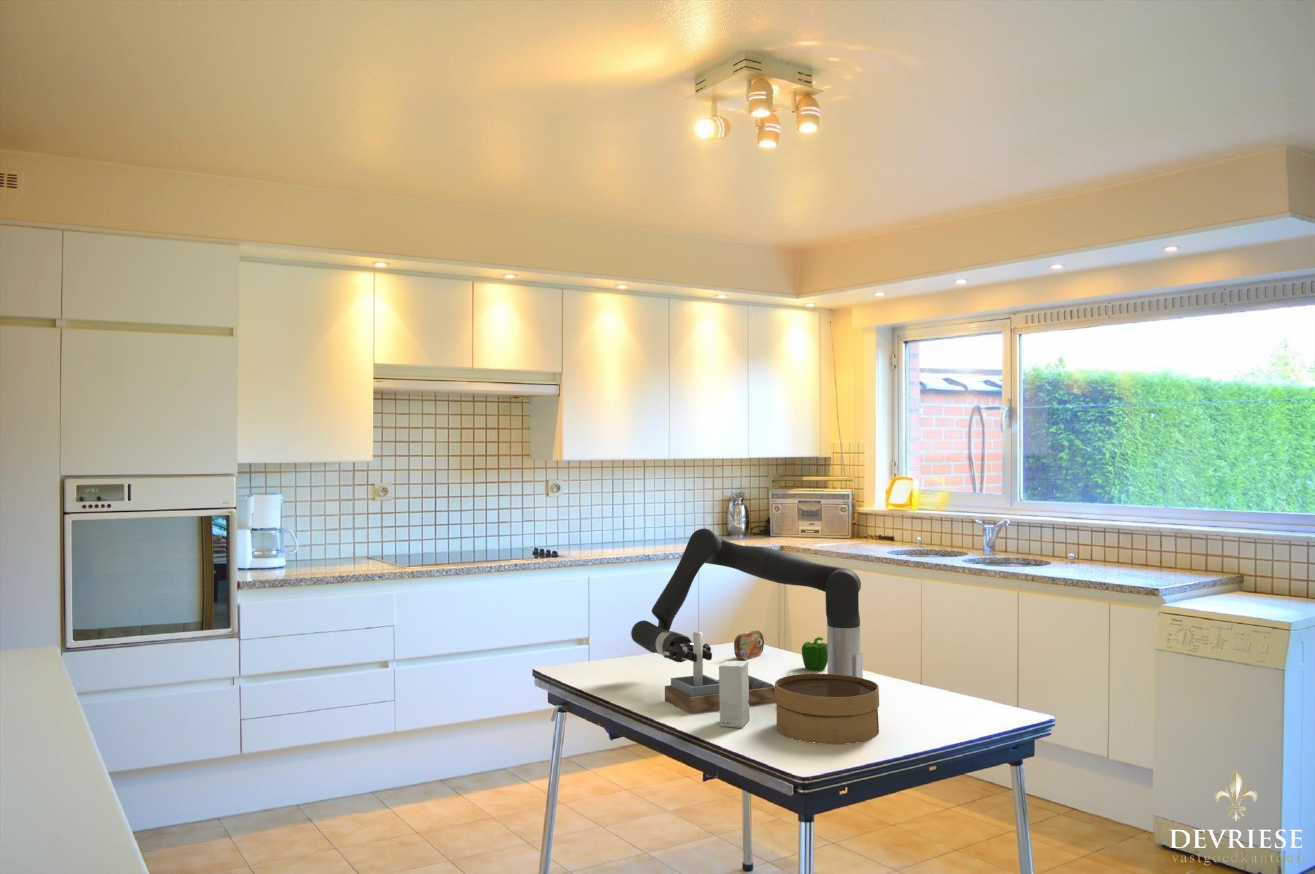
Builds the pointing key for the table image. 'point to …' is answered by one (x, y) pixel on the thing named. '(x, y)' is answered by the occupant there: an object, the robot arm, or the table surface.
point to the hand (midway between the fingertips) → (702, 657)
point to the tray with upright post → (696, 675)
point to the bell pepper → (815, 655)
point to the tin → (748, 645)
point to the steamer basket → (827, 708)
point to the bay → (757, 695)
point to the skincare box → (734, 694)
